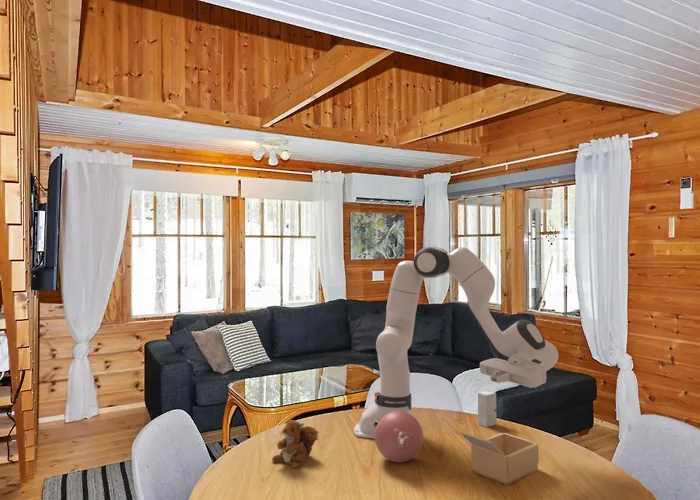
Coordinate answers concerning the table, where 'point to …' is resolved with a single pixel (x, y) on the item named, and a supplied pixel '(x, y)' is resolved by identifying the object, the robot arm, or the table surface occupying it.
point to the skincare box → (487, 408)
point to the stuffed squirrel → (296, 443)
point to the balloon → (398, 436)
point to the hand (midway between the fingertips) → (494, 379)
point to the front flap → (482, 443)
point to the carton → (506, 458)
